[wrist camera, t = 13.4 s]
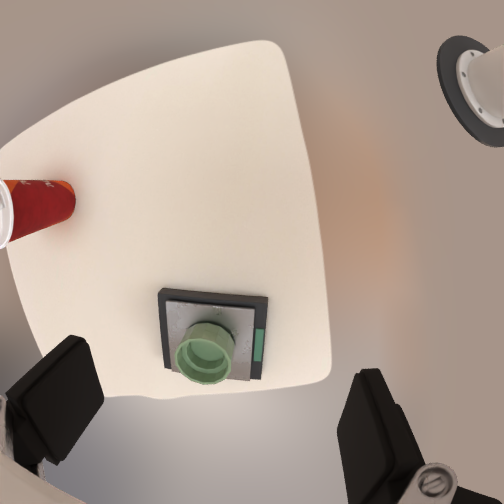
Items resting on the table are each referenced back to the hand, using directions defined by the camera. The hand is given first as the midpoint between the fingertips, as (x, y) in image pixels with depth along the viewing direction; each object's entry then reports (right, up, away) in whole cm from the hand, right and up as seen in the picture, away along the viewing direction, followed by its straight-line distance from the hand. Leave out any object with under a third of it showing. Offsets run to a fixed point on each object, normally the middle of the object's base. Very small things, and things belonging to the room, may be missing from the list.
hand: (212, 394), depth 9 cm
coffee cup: (-27, +12, +27) cm, 40 cm away
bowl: (-4, -7, +27) cm, 28 cm away
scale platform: (-4, -7, +27) cm, 28 cm away
